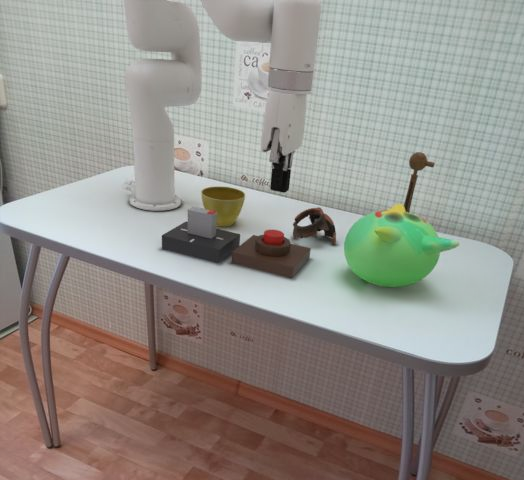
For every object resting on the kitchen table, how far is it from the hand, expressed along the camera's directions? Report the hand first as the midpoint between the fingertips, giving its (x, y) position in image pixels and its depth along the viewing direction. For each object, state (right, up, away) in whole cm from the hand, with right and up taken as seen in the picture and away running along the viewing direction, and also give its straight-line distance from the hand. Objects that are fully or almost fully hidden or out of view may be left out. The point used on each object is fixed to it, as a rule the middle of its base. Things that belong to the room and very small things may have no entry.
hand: (279, 190), depth 96 cm
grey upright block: (-16, -6, +9) cm, 19 cm away
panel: (-16, -9, +11) cm, 21 cm away
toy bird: (+21, -17, +4) cm, 27 cm away
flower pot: (-13, 0, +24) cm, 27 cm away
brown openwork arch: (+9, -5, +21) cm, 23 cm away
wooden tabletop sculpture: (+30, -4, +25) cm, 39 cm away
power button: (-1, -9, +6) cm, 11 cm away
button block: (-1, -12, +8) cm, 15 cm away
